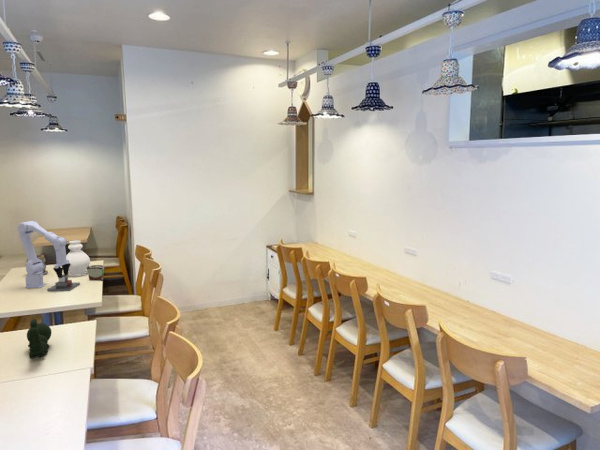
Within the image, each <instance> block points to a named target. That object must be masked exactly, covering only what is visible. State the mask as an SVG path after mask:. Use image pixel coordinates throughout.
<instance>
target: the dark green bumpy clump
mask: <svg viewBox="0 0 600 450" xmlns="http://www.w3.org/2000/svg"><path fill="white" fill-rule="evenodd" d="M51 336H52V328H51V327H50V326H49V325H48V324H46V323H42V322H39V323H38V320H37V319H36V318H33V319H31V320H30V323H29V328H28V330H27V332H26V339H27V341H28V345H27V346H28V348H29V349H28V350H29V357H28V358H29V360H30V359H31V360H32V359H34V358H36V357H38V356H39V357H40V358H41V357H42V358H44V357H45V356H46V355H47V354H48V352H49V351H48V349H49V348H50V344H49V343H48V342H49V340H50V338H51Z"/></svg>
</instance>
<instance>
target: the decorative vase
mask: <svg viewBox="0 0 600 450" xmlns="http://www.w3.org/2000/svg"><path fill="white" fill-rule="evenodd" d="M68 242H69V245H68V247H67V248H68V249H69V252H68V253H66V260H69V263H70V264H71V265H70V267H69V271H68V277H80V276H85V275H88V271H87V270H86V268H87V266H91V259H90V257H89V255H87V253H86V252H84V251H83V249H82V248H83V244H82V243H81V242H82V241H81V240H80V239H76V240H70V241H68Z"/></svg>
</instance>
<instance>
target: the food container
mask: <svg viewBox="0 0 600 450" xmlns="http://www.w3.org/2000/svg"><path fill="white" fill-rule="evenodd" d="M104 270H105V266H104V265H102V264H90V265H89V266H87V268H86V270H85V271H86V272H87V276H88V280H89V281H91V282H92V281H93V282H95V281H99V282H102V281H104Z"/></svg>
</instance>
